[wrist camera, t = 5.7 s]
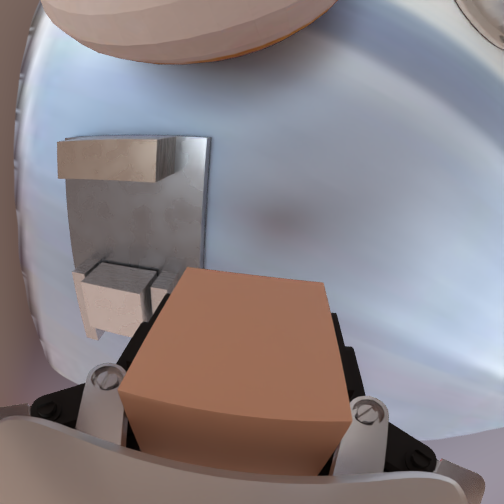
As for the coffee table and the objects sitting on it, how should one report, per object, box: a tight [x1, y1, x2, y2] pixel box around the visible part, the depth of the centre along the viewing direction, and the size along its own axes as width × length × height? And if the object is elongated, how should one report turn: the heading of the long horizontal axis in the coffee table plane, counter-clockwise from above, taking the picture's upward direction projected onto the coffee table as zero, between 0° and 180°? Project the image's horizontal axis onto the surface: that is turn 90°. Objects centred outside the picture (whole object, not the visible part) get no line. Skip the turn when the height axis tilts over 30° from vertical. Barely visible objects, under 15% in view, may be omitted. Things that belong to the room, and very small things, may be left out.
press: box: [57, 135, 211, 340], centre depth 25 cm, size 20×14×6 cm
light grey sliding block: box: [81, 262, 157, 337], centre depth 26 cm, size 5×6×4 cm
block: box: [118, 267, 353, 476], centre depth 9 cm, size 5×5×6 cm
